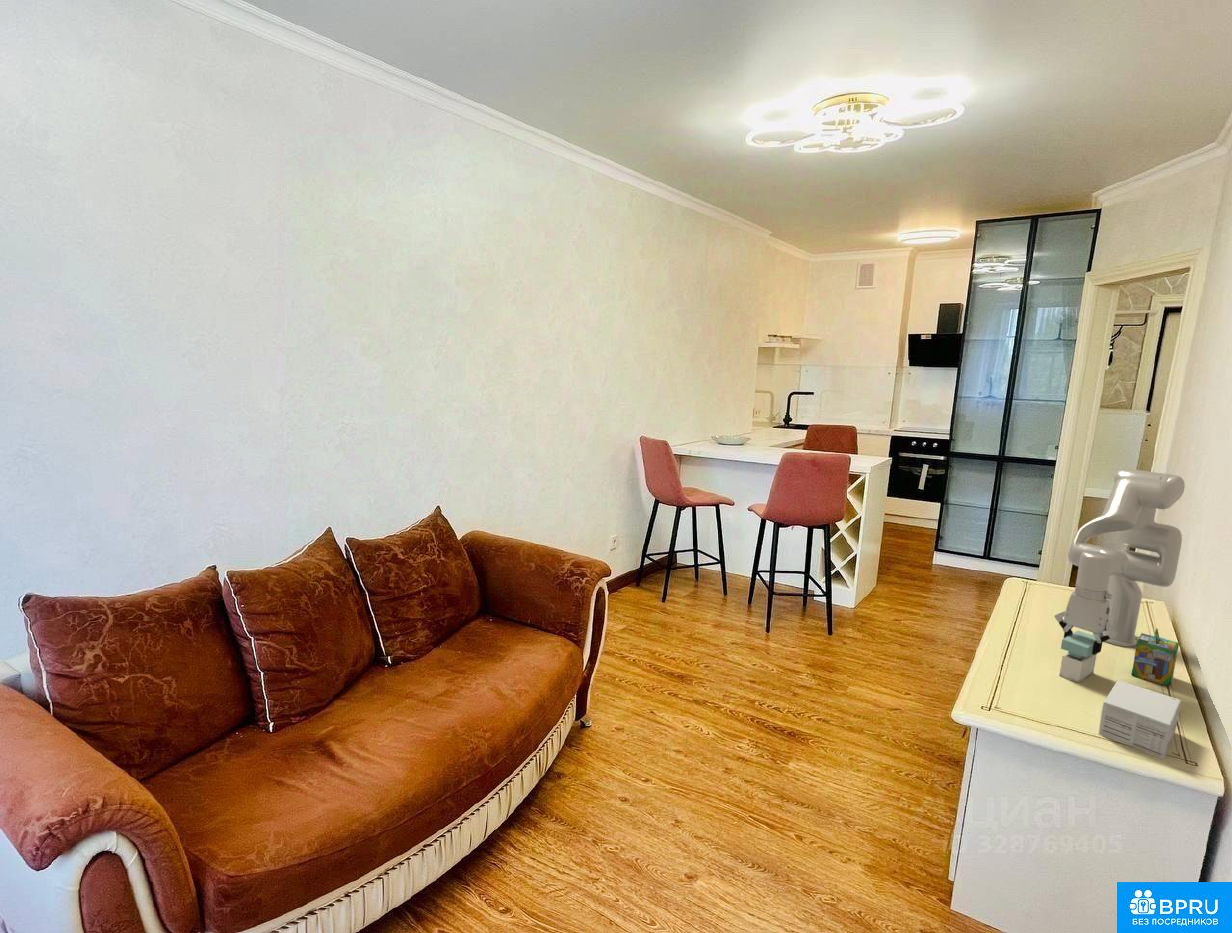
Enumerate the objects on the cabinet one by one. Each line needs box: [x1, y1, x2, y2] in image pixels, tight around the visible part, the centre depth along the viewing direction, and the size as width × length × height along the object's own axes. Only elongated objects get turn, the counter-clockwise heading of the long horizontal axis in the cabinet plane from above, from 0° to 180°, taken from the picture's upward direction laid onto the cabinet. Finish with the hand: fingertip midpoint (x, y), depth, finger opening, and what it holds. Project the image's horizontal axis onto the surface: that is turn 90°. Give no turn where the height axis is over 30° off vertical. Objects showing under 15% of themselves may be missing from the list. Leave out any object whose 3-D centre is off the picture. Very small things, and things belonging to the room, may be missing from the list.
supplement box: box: [1098, 680, 1182, 759], centre depth 157 cm, size 17×13×9 cm
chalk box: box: [1131, 627, 1180, 687], centre depth 186 cm, size 9×9×15 cm
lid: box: [1060, 630, 1096, 658], centre depth 186 cm, size 12×6×4 cm, turn 124°
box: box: [1058, 651, 1098, 684], centre depth 187 cm, size 11×5×6 cm, turn 124°
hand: (1081, 648), depth 186 cm, fingers closed on lid, 6 cm apart
